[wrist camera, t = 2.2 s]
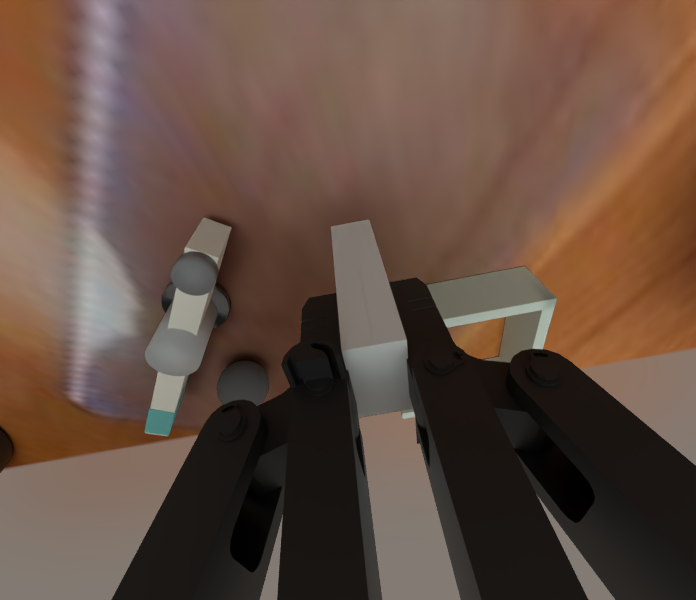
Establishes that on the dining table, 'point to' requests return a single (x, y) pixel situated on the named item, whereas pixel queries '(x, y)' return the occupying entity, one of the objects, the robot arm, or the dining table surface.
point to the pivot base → (218, 298)
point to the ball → (243, 383)
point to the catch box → (498, 308)
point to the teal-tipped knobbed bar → (185, 323)
